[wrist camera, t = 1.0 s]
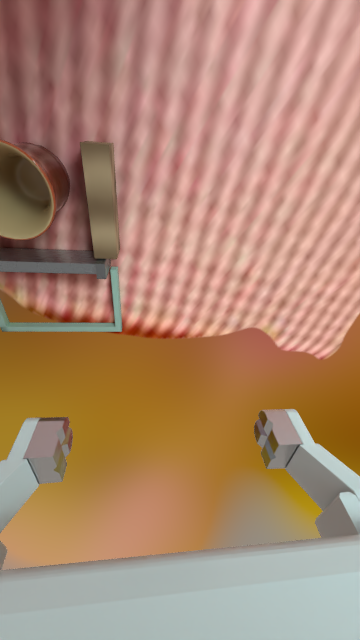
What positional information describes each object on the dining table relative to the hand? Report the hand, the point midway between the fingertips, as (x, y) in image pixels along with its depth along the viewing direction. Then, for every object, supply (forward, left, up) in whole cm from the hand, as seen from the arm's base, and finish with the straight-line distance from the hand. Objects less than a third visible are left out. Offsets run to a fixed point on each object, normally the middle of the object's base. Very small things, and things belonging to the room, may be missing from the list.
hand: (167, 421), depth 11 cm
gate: (+6, -16, -32) cm, 36 cm away
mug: (-3, -16, -32) cm, 36 cm away
